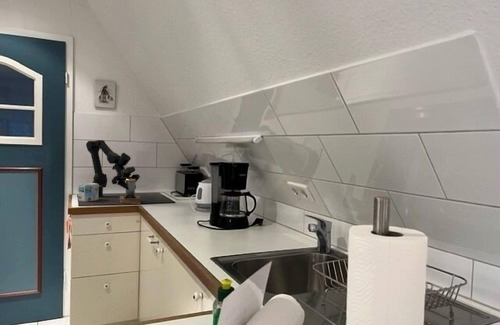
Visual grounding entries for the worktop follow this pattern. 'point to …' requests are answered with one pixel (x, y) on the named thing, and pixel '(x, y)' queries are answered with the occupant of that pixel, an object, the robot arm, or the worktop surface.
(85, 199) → the light bulb box
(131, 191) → the canister
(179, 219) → the worktop surface
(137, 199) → the holder
